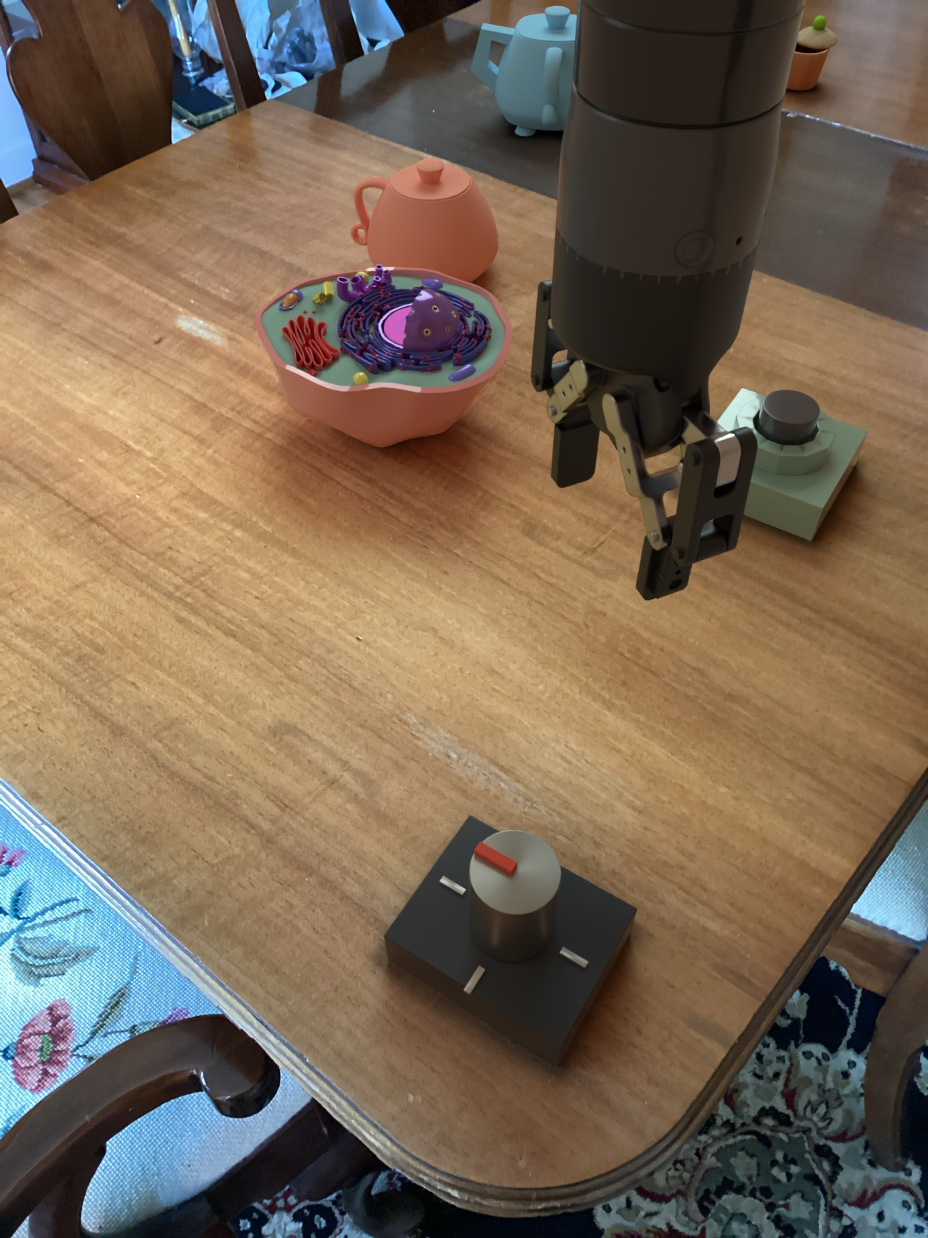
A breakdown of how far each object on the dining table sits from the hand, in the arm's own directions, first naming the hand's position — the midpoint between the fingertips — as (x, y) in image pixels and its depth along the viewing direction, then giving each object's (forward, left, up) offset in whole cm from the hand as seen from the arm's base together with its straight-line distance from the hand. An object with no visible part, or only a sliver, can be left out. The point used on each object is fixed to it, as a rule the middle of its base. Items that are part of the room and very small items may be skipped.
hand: (612, 532), depth 49 cm
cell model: (+28, -18, -16) cm, 37 cm away
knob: (-3, +15, -13) cm, 20 cm away
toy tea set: (+33, -98, -16) cm, 105 cm away
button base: (-1, -27, -16) cm, 32 cm away
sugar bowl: (+38, -38, -16) cm, 56 cm away
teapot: (+43, -73, -16) cm, 86 cm away
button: (-1, -27, -12) cm, 30 cm away
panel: (-3, +15, -16) cm, 22 cm away
